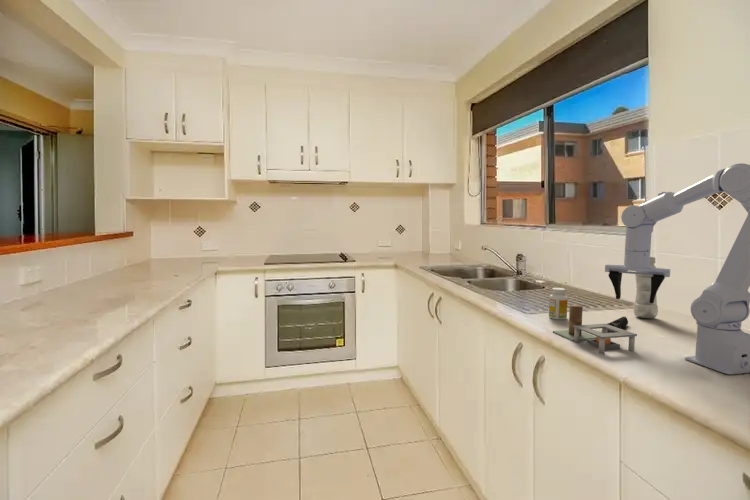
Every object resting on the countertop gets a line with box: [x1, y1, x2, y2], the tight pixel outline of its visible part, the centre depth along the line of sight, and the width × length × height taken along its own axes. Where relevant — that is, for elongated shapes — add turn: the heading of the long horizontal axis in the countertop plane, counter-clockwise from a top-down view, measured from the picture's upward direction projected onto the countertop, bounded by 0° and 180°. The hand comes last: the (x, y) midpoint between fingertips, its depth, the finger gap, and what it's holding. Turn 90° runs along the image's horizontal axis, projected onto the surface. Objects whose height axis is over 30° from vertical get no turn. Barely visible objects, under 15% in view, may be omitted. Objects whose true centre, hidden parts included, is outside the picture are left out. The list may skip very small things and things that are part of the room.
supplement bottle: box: [548, 287, 568, 321], centre depth 127 cm, size 5×5×10 cm
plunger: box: [595, 336, 612, 345], centre depth 100 cm, size 3×3×2 cm
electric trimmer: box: [606, 316, 629, 333], centre depth 114 cm, size 4×16×3 cm, turn 132°
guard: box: [573, 323, 638, 355], centre depth 100 cm, size 10×10×4 cm
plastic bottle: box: [632, 256, 659, 319], centre depth 126 cm, size 6×7×20 cm
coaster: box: [552, 329, 596, 342], centre depth 108 cm, size 8×8×1 cm
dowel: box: [568, 304, 584, 336], centre depth 108 cm, size 3×3×8 cm
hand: (634, 300), depth 105 cm, fingers open, 7 cm apart
